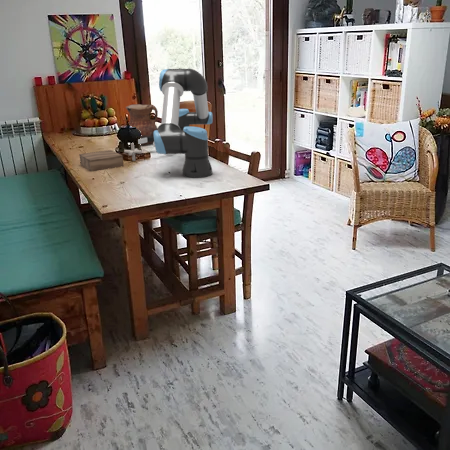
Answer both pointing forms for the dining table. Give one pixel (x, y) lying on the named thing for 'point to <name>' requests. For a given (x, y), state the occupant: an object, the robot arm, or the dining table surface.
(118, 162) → the stand
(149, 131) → the jug
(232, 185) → the dining table surface
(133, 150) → the pipe connector
